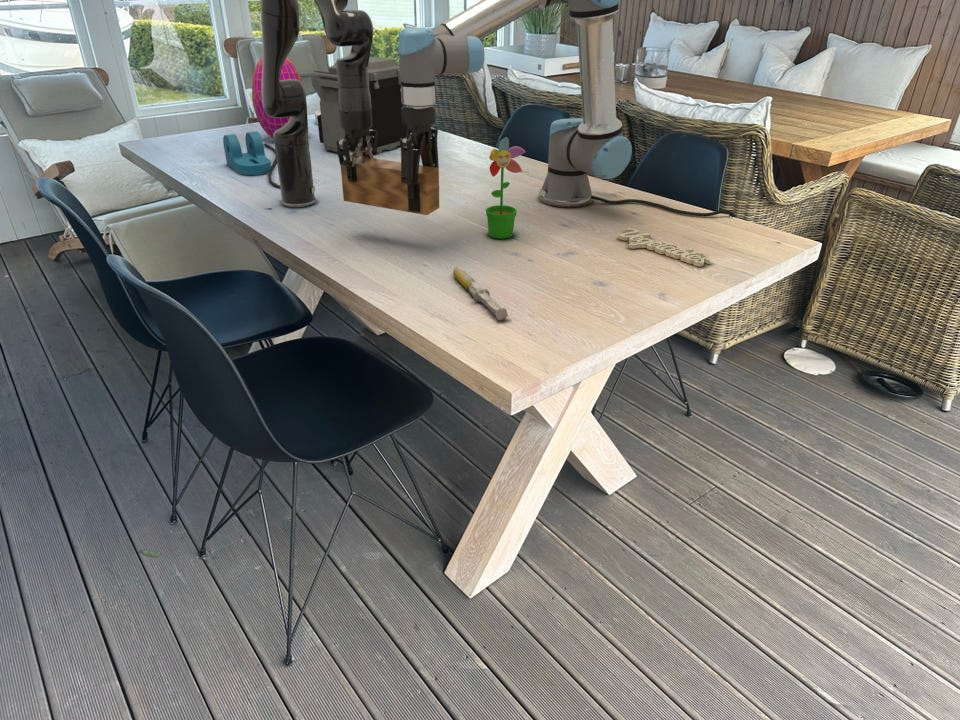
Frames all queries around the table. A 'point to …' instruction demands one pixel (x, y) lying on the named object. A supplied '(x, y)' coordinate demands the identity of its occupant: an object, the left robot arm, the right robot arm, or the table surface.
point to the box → (389, 185)
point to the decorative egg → (265, 121)
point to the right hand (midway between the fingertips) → (421, 206)
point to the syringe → (479, 293)
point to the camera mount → (246, 154)
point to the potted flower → (500, 214)
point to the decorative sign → (663, 247)
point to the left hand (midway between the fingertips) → (360, 177)
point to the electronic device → (382, 103)
